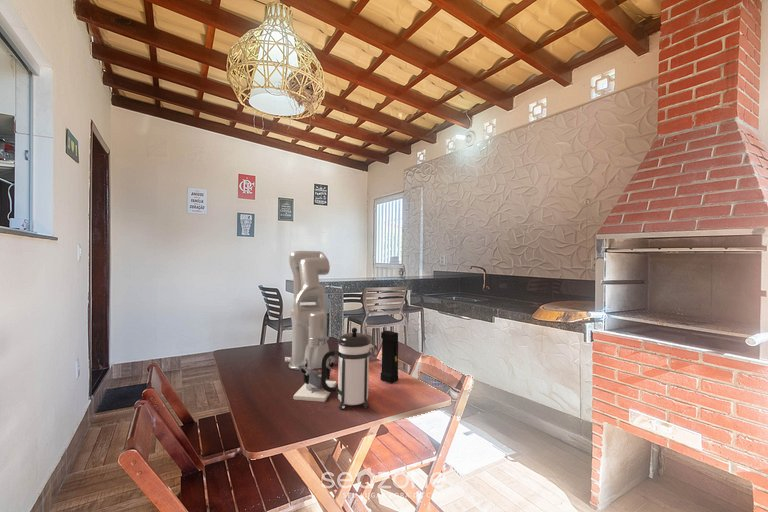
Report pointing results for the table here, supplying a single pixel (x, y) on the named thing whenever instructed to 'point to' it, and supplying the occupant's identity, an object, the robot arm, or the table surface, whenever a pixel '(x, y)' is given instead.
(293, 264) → the robot arm
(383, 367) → the portable radio
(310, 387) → the dial
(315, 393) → the dial panel
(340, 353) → the coffee press
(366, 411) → the table surface
